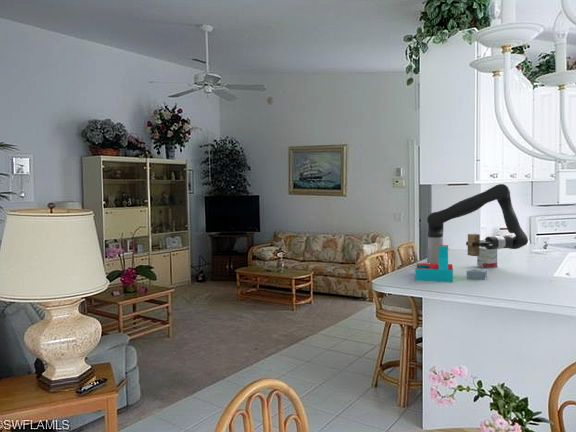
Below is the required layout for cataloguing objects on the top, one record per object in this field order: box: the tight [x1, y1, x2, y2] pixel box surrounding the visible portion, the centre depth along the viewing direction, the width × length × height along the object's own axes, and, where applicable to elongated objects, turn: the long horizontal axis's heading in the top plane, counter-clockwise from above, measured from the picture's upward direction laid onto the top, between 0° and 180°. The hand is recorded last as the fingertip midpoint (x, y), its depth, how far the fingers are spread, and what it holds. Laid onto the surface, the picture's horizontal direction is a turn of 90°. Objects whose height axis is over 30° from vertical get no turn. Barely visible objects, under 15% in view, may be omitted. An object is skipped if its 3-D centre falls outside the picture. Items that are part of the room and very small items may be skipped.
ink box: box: [476, 247, 498, 268], centre depth 291 cm, size 9×9×12 cm
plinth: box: [466, 268, 488, 281], centre depth 256 cm, size 9×9×4 cm
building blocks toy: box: [414, 244, 454, 283], centre depth 261 cm, size 19×25×18 cm
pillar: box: [467, 233, 481, 257], centre depth 268 cm, size 4×4×12 cm
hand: (469, 244), depth 267 cm, fingers closed on pillar, 4 cm apart
